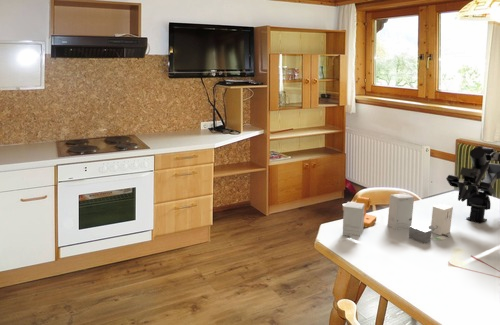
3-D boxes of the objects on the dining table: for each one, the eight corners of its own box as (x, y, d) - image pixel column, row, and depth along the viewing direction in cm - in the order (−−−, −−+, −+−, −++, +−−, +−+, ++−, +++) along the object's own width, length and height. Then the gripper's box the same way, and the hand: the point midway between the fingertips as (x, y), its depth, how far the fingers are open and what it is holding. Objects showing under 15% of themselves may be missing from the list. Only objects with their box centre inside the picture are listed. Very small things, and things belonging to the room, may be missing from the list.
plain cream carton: (438, 228, 187) (441, 203, 184) (455, 234, 181) (458, 208, 178) (425, 233, 181) (427, 207, 179) (442, 239, 175) (445, 213, 173)
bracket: (368, 229, 189) (370, 202, 186) (352, 226, 193) (354, 199, 190) (376, 222, 198) (378, 196, 195) (360, 218, 202) (362, 193, 199)
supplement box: (363, 232, 186) (365, 203, 183) (359, 238, 179) (361, 208, 176) (346, 229, 189) (347, 201, 186) (341, 235, 182) (343, 206, 179)
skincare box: (395, 232, 186) (397, 198, 183) (386, 227, 192) (389, 194, 188) (411, 230, 188) (415, 196, 185) (403, 225, 194) (405, 192, 191)
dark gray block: (414, 236, 179) (415, 224, 178) (430, 241, 174) (431, 229, 172) (408, 238, 177) (409, 226, 176) (424, 244, 171) (425, 232, 170)
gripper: (451, 156, 194) (433, 184, 190) (494, 164, 179) (476, 195, 176) (459, 171, 200) (442, 199, 197) (501, 180, 185) (484, 210, 182)
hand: (460, 200), depth 187 cm, fingers closed
